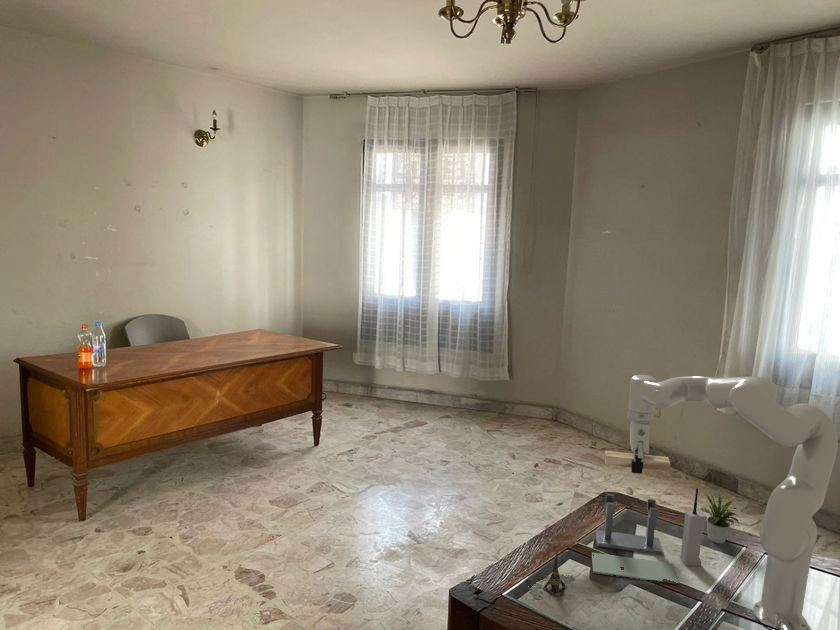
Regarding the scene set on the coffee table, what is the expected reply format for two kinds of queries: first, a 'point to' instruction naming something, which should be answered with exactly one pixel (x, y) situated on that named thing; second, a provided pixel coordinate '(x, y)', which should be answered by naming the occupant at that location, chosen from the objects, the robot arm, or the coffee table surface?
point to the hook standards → (628, 540)
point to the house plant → (719, 519)
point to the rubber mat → (632, 567)
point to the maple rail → (627, 458)
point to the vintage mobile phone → (692, 535)
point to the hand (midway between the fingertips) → (635, 469)
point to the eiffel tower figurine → (552, 582)
